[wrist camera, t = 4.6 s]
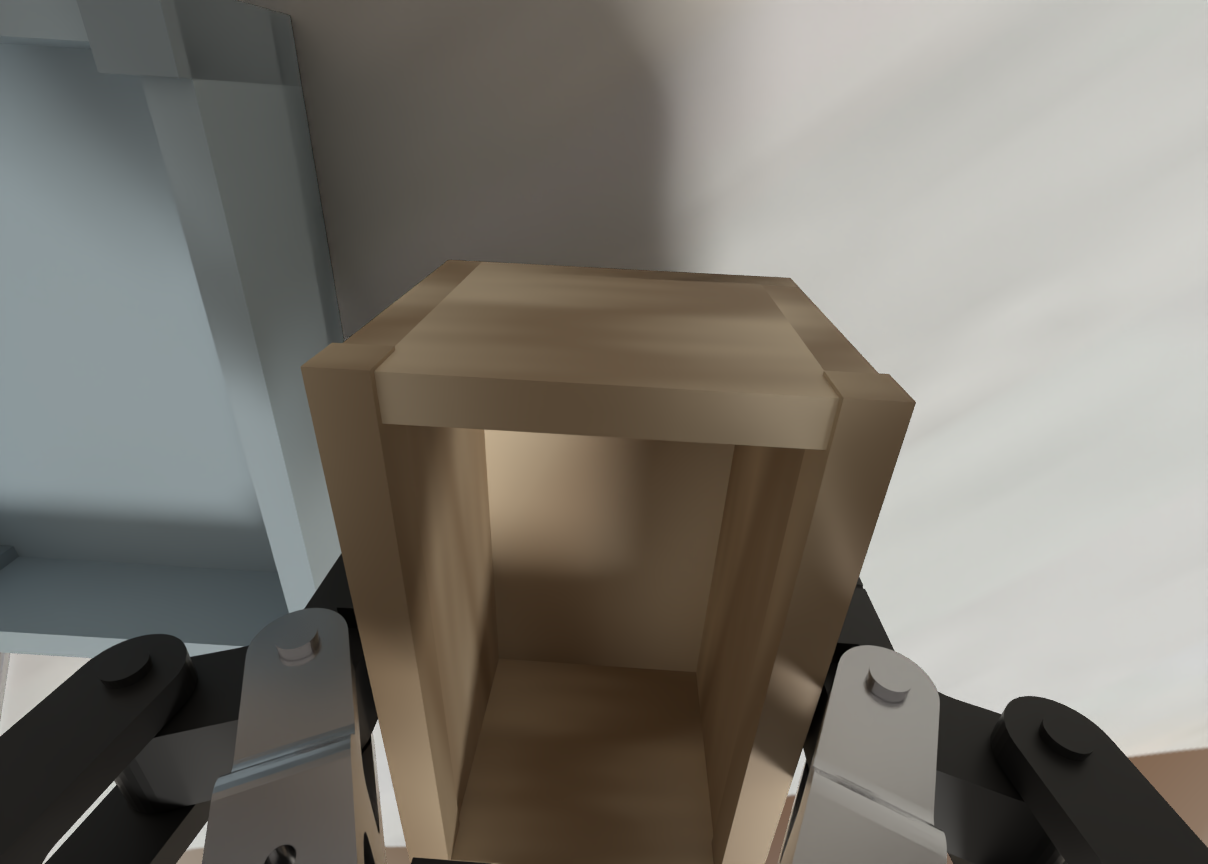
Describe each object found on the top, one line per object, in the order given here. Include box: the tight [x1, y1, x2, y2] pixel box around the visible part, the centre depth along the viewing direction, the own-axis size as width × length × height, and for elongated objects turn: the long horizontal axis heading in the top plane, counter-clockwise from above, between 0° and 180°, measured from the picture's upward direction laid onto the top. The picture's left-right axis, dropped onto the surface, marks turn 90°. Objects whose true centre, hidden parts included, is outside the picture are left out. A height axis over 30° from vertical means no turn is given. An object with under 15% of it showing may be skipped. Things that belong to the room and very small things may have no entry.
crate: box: [0, 0, 344, 658], centre depth 13 cm, size 12×15×4 cm
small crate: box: [300, 260, 916, 864], centre depth 10 cm, size 6×10×5 cm, turn 178°
